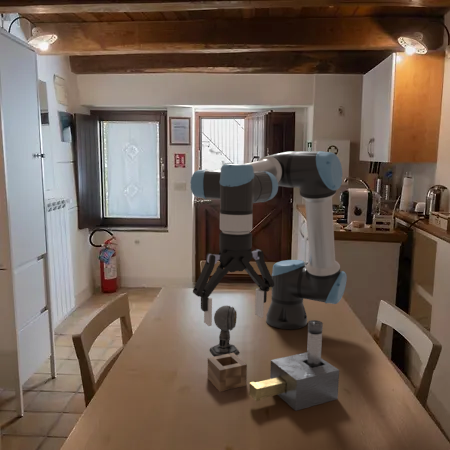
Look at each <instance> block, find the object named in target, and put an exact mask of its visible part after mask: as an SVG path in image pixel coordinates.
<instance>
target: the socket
mask: <svg viewBox="0 0 450 450" xmlns="http://www.w3.org/2000/svg"><path fill="white" fill-rule="evenodd" d="M277 377H281V378H283V379H284V380H285V381H286V382H287V389H286V392H285V393H281V394H277V396H278V397H279V398H280V399H281V400H283V401H284V402H285V403H286V404H287V405H288V406H289V407H291V409H292V410H294V411H295V412H296V411H301V410H303V409H307V408H310V407H314V406H317V405H321V404H322V405H323V404H325V403H328V402H332V401H336V400H338V398H339V397H338V396H339V381H340V380H339V378H340V369H338V368H337V367H336V366H334V365H333V364H331V363H329V362H328V361H326V360H324V358H322V357H321V366H318V367H314V368H311V367H310V366H308V365H307V351H306V352H303V353H297V354H293V355H289V356H283V357H278V358H274V359H270V375H269V379H272V378H277Z"/></svg>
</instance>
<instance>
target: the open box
mask: <svg viewBox="0 0 450 450" xmlns="http://www.w3.org/2000/svg"><path fill="white" fill-rule="evenodd" d="M247 369H248V365H247V363H246V362H244V360H242V359H241V358H240V357H239V356H238V354H237V355H235V354H234V353H230V354H225V355H220V356H215V357H214V356H210V357H207V379H208V381H210V383H211V384H212V385H213V386H214V387H215V388H216V389H217V390H218V392H224V391H227V390H233V389H237V388H240V387H245V386H247V378H248V377H247V373H248V370H247Z"/></svg>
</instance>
